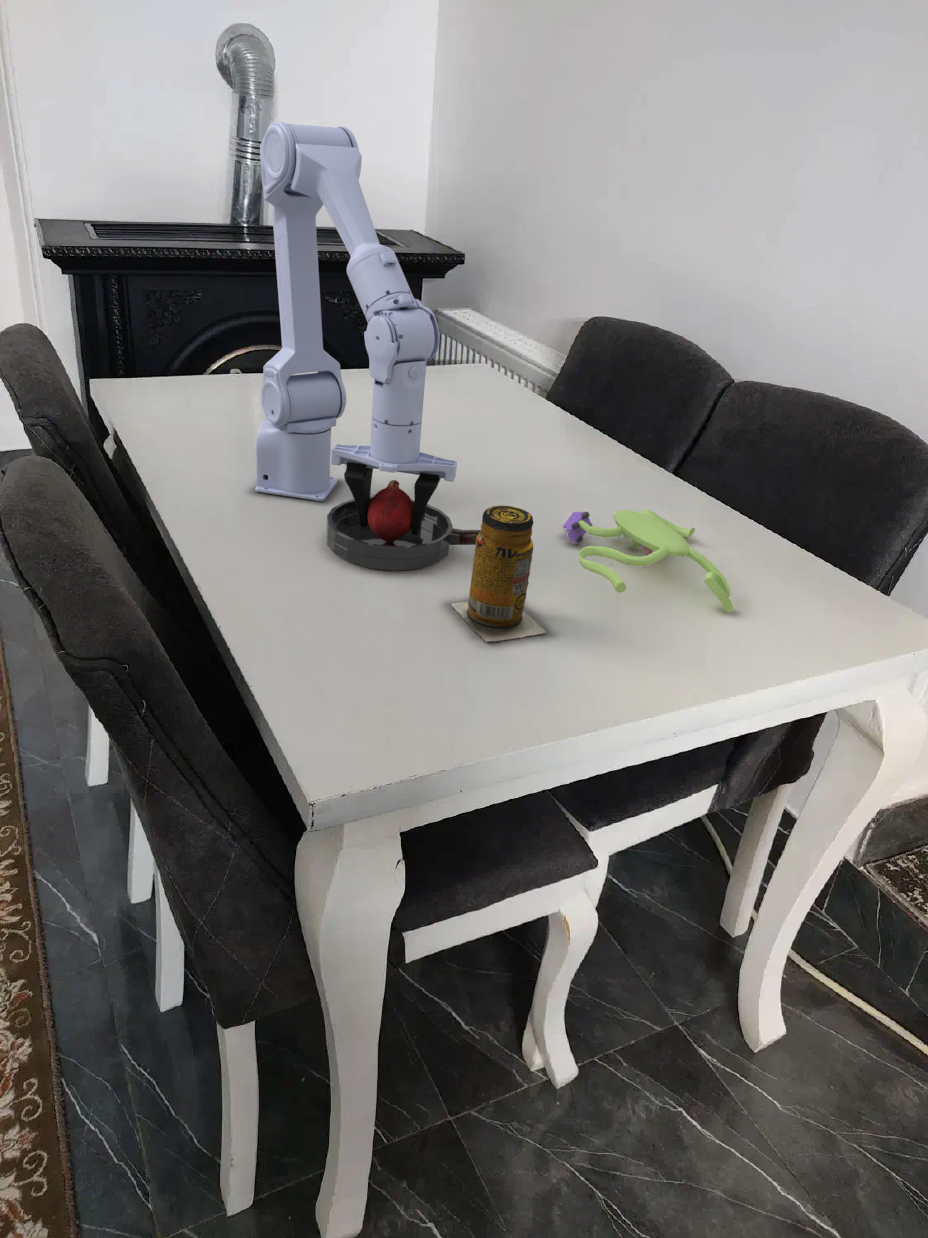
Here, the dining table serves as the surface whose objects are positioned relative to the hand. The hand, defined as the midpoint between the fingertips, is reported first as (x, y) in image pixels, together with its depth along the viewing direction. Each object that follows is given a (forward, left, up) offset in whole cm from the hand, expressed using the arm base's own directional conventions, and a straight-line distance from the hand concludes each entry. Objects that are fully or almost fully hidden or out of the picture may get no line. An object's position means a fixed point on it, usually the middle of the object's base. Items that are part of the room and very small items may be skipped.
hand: (390, 527), depth 111 cm
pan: (0, 0, -2) cm, 2 cm away
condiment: (+15, -14, -3) cm, 21 cm away
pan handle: (+12, 0, -1) cm, 12 cm away
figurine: (+31, +4, -3) cm, 31 cm away
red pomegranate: (0, 0, -2) cm, 2 cm away
